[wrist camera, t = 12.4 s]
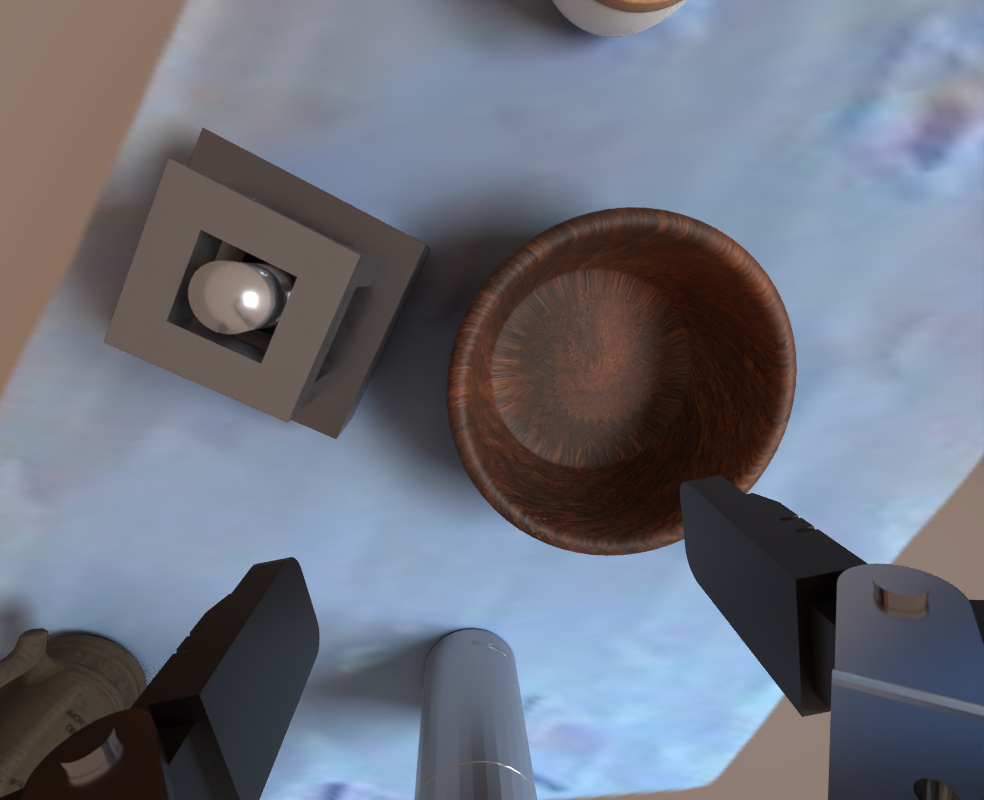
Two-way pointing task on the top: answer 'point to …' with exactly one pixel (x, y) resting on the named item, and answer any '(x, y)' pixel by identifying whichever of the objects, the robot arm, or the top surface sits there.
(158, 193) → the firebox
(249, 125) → the top surface
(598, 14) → the lidded bowl
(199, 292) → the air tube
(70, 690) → the beer stein
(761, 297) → the wooden bowl
